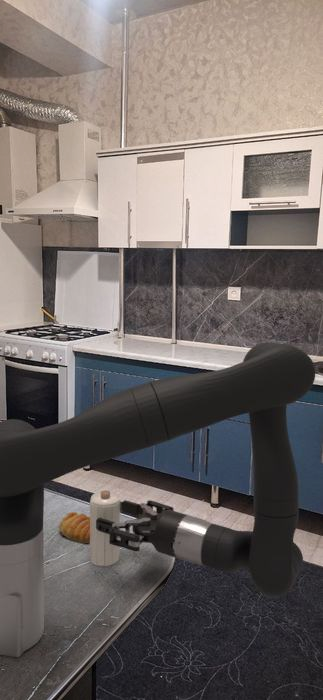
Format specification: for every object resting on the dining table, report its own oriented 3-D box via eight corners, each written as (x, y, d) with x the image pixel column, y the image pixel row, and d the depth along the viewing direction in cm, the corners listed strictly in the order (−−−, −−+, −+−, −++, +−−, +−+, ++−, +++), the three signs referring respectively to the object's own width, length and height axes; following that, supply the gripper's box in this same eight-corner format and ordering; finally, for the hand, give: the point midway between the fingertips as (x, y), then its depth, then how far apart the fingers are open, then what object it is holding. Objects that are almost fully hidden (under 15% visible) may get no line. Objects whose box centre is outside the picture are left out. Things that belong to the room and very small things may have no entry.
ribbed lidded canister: (115, 567, 95) (116, 500, 93) (86, 564, 96) (86, 497, 94) (121, 551, 100) (123, 487, 98) (94, 548, 101) (95, 485, 99)
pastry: (108, 536, 106) (108, 520, 106) (85, 550, 101) (85, 532, 100) (78, 522, 112) (78, 506, 111) (55, 534, 107) (54, 518, 106)
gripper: (202, 501, 94) (130, 482, 102) (167, 535, 82) (87, 510, 89) (201, 538, 95) (129, 517, 103) (165, 577, 83) (87, 549, 90)
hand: (110, 514), depth 96 cm, fingers open, 8 cm apart
